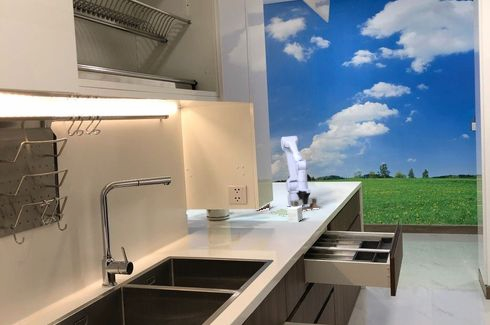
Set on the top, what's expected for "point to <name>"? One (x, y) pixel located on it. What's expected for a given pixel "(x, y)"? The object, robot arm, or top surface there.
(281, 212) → the mat
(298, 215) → the product box
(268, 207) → the food container
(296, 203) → the stand
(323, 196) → the top surface
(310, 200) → the rail
